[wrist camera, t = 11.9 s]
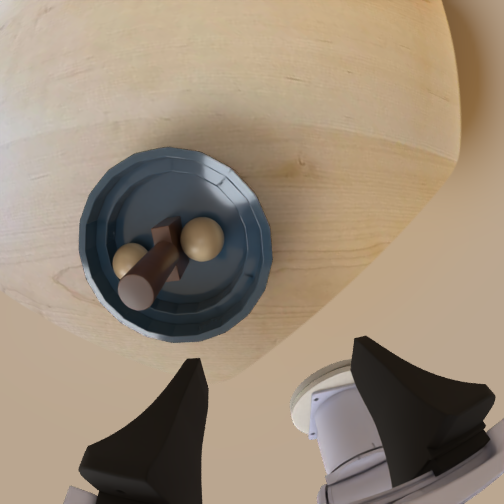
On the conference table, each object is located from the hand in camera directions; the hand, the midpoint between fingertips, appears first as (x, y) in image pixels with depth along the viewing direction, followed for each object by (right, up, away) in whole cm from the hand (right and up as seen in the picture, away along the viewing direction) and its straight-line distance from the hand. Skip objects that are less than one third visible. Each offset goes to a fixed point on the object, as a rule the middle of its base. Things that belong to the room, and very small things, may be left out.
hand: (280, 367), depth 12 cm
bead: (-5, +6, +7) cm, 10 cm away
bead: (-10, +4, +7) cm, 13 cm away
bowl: (-7, +6, +9) cm, 13 cm away
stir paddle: (-7, +6, +8) cm, 12 cm away
